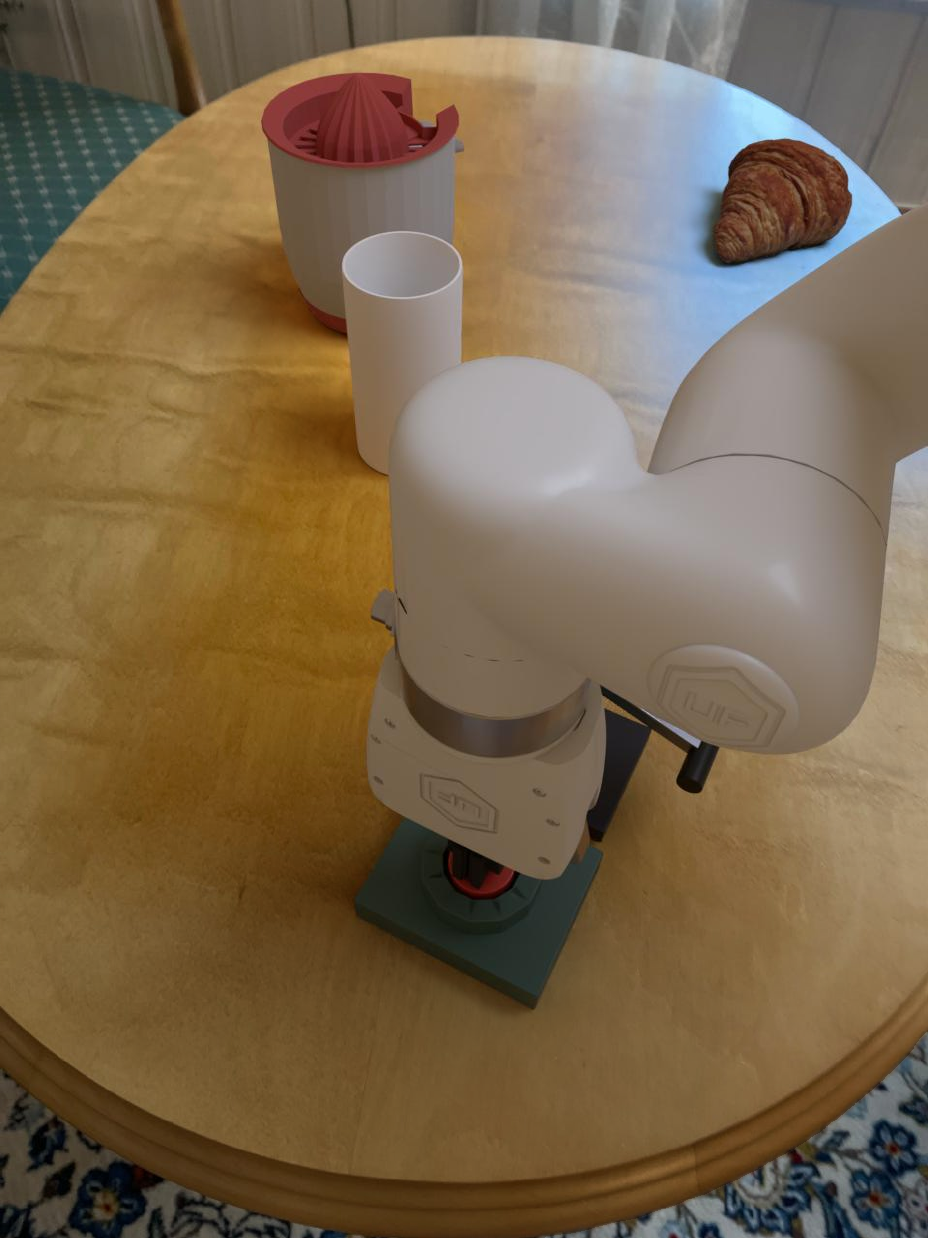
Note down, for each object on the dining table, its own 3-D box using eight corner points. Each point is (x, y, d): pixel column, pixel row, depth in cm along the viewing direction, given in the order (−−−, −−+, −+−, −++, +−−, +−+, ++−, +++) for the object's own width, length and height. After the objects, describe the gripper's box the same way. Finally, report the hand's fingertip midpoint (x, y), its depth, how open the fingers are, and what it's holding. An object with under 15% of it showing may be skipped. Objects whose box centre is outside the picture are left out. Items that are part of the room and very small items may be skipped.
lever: (717, 729, 55) (741, 714, 53) (687, 799, 52) (712, 786, 50) (541, 608, 55) (559, 588, 53) (502, 673, 52) (519, 654, 50)
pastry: (871, 272, 95) (901, 193, 88) (713, 267, 95) (733, 188, 88) (834, 183, 105) (859, 107, 99) (692, 179, 105) (708, 103, 99)
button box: (599, 867, 56) (608, 837, 53) (534, 1010, 51) (540, 986, 48) (432, 788, 59) (431, 755, 56) (355, 916, 54) (350, 887, 51)
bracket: (649, 739, 62) (689, 614, 52) (601, 842, 57) (635, 728, 47) (480, 666, 65) (487, 535, 55) (422, 759, 60) (418, 635, 50)
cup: (337, 437, 79) (317, 257, 66) (416, 396, 82) (412, 217, 69) (399, 493, 75) (390, 314, 62) (480, 447, 78) (487, 269, 65)
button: (524, 861, 54) (526, 847, 52) (496, 917, 52) (497, 905, 50) (466, 833, 55) (467, 819, 53) (436, 887, 53) (436, 874, 51)
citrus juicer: (505, 303, 90) (519, 76, 75) (352, 377, 83) (332, 143, 68) (403, 231, 98) (395, 10, 82) (254, 293, 91) (215, 65, 75)
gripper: (278, 657, 37) (322, 857, 52) (641, 823, 33) (579, 989, 48) (377, 531, 42) (392, 749, 56) (710, 666, 38) (634, 863, 52)
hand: (478, 859), depth 52 cm, fingers closed
